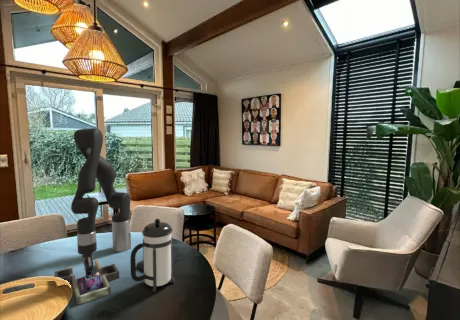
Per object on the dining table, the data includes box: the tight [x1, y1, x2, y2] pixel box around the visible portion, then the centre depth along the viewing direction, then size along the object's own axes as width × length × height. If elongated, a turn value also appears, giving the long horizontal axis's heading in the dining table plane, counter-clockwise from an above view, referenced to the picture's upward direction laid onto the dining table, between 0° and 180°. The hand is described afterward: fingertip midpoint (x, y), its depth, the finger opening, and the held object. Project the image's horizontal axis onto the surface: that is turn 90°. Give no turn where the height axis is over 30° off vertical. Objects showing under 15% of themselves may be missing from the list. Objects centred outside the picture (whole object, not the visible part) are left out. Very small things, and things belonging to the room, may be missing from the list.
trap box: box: [54, 258, 120, 305], centre depth 117 cm, size 24×30×3 cm
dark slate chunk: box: [136, 248, 182, 272], centre depth 135 cm, size 15×22×5 cm
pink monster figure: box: [76, 271, 103, 295], centre depth 112 cm, size 7×5×9 cm
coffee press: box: [130, 218, 176, 293], centre depth 114 cm, size 17×16×30 cm
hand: (88, 277), depth 118 cm, fingers closed
